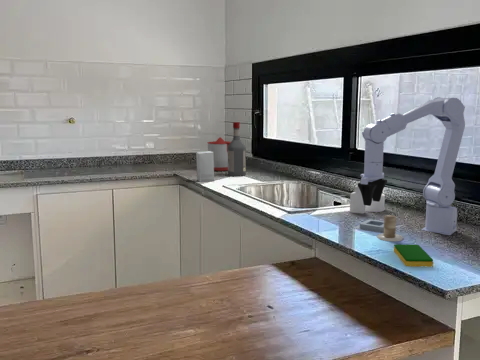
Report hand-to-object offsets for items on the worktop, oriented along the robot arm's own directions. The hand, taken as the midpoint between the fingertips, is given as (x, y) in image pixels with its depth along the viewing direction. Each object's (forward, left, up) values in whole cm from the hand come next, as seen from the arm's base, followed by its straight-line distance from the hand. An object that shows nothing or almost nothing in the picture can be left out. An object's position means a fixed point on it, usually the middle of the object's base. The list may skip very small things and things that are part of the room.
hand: (371, 203), depth 164 cm
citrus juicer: (+130, -82, -11) cm, 154 cm away
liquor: (+110, -71, -11) cm, 132 cm away
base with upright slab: (+14, -35, -11) cm, 39 cm away
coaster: (-7, +1, -11) cm, 13 cm away
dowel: (-7, +1, -10) cm, 12 cm away
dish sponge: (-19, +16, -11) cm, 27 cm away
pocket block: (+2, -8, -11) cm, 13 cm away
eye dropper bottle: (+16, -25, -11) cm, 32 cm away
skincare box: (+113, -48, -11) cm, 123 cm away
